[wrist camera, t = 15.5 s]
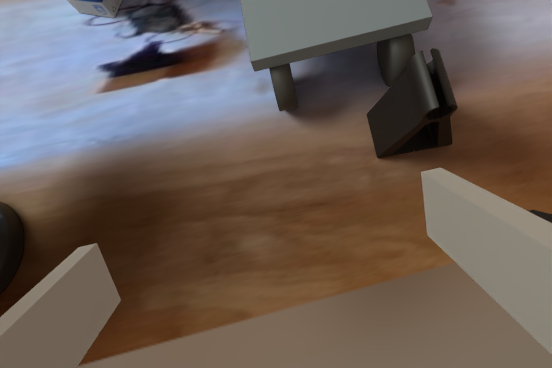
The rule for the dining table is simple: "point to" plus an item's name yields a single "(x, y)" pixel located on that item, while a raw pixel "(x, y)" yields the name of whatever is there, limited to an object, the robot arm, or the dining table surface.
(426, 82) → the phone stand
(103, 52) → the dining table surface
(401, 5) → the trolley
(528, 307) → the robot arm
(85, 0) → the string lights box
